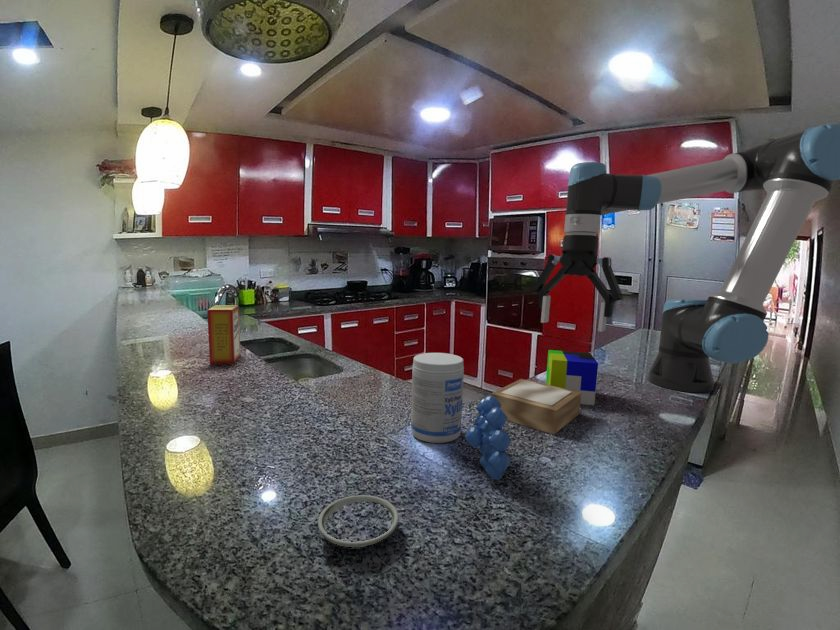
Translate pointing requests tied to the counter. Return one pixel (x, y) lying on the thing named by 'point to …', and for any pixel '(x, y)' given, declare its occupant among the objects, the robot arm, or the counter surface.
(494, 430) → the grapes
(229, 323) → the baking soda box
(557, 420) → the oak picture frame
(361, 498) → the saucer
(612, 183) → the robot arm
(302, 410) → the counter surface
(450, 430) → the supplement tub
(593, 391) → the puzzle toy
